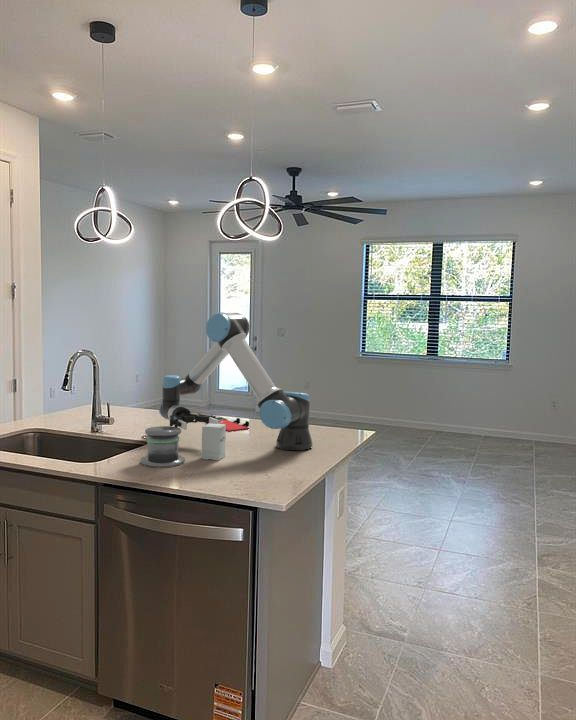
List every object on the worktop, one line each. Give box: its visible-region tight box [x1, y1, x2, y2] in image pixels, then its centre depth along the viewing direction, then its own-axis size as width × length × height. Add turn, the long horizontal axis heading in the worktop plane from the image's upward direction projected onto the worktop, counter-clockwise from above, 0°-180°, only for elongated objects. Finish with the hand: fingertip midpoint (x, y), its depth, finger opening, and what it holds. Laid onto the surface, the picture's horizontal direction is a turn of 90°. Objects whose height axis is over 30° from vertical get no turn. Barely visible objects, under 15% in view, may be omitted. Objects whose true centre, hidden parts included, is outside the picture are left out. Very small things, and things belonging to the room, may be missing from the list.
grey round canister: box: [140, 425, 186, 468], centre depth 216 cm, size 16×16×12 cm
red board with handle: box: [206, 416, 250, 433], centre depth 288 cm, size 30×3×15 cm
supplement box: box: [201, 423, 227, 461], centre depth 224 cm, size 7×7×13 cm
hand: (201, 424), depth 232 cm, fingers open, 13 cm apart
